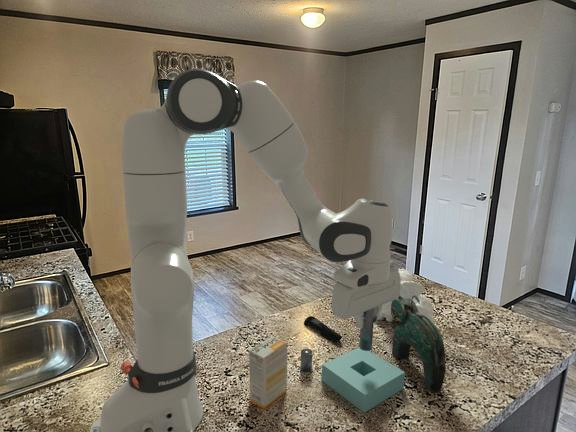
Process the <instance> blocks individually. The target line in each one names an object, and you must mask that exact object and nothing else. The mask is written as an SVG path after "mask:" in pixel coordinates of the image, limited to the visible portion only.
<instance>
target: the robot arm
mask: <svg viewBox="0 0 576 432" xmlns="http://www.w3.org/2000/svg"><path fill="white" fill-rule="evenodd" d="M224 129H227V130H229V131H231V132H232V133H233V134H234V135H235V136H236V137H237V139H238V140H239V141H240V143H241V144H242V146H243V147H244V148H245V150H246V152H247V153H248V155H249V156H250V158H251V159H252V161H253V162H254V163H255V164H256V166H257V167H258V168H259V169H260V170H261V171H262V173H263V174H265V175H266V177H268V178H269V179H270V180H271V182H273V183H275V185H277V186H278V188H279V189H280V191H281V192H282V193H283V195H284V197H285V198H286V200H287V201H288V203H289V205H290V207H291V208H292V209H293V211H294V213H295V214H296V217H297V221H298V229H299V233H300V236H301V238H302V240H303V241H304V242H305V244H307V245H309V246H310V247H312V248H313V249H314V250H315V251H316V252H317V253H319V254H320V256H322V257H324V259H327V260H328V261H330V262H332V263H333V262H334V263H343V262H346V263H345V264H343V265H342V266H341V267H339V268H338V269H336V270H335V271H334V272H333V280H334V281H335V283H334V285H333V288H332V294H331V311H332V313H333V314H334V316H336V317H338V318H339V319H341V320H344V321H345V320H347V319H350V318H352V317H354V319H355V326H356V328H358V329H359V330H360V329H361V328H364V327H365V326H366V325H365V324H366V320H363V319H362V316H363V312H365V311H368V310H370V309H372V308H374V323H377V322H379V320H378V315H379V313H380V311H381V309H382V304H385V303H387V302H390V301H392V300H395V299H397V298H398V297H399V295H400V293H401V279H400V273H399V268H400V267H399V265H398V263H396V262H395V261H391V252H390V246H391V243H392V240H393V213H392V209H391V207H390V206H389V205H388V204H387V203H385V202H383V201H380V200H376V199H371V198H359V199H356V200H355V202H354V203H353V204H352V205H351V206H349V207H347V208H346V209H345V210H343V211H340V212H337V213H336V212H335V211H334V210H333V209H331V208H329V207H328V206H326V205H324V203H322V202H321V201H320V200H319V198H318V196H317V194H316V193H315V191H314V189H313V187H312V185H311V184H310V182H309V180H308V179H307V177H306V173H305V170H304V168H305V165H306V162H307V161H308V156H309V148H308V147H307V144H306V141H305V139H304V136H303V133H302V132H301V130H300V128H299V126H298V124H297V122H295V119H294V118H293V116H292V115H291V114H290V112H289V109H287V108H286V106H285V105H284V104H283V102H282V101H281V99H280V98H279V97H278V96H277V94H276V93H274V91H273V90H272V89H271V88H270V87H269V86H268V85H267V84H266V83H264V81H261V80H250V81H249V80H248V81H245V82H243V83H241V84H239V85H238V86H237V85H236V84H234V83H232V82H230V81H228V80H226V79H225V78H223V77H221V76H220V75H218V74H217V73H214V72H212V71H210V70H207V69H203V68H191V69H187V70H186V69H185V70H183V71H182V72H180V73H178V74H177V75H176V76H175V77H174V78H173V80H172V81H171V82H170V84H169V85H168V89H167V92H166V97H165V100H164V102H163V105H162V106H160V107H158V108H146V109H145V108H144V109H140V110H137V111H135V112H133V113H131V114H130V115H129V116H128V117H127V118H126V119H125V122H124V128H123V136H122V149H121V166H122V167H121V168H122V177H123V178H122V179H123V192H124V202H125V203H124V204H125V214H126V215H125V216H126V224H127V233H128V235H127V236H128V243H129V244H128V245H129V253H130V289H131V290H130V291H131V302H132V311H133V320H134V322H133V323H134V332H135V344H136V361H135V363H134V364H133V365H132V363H131V361H129V360H126V361H123V362H122V363H121V365H120V369H121V371H122V373H123V374H124V375H127V380H126V382H124V383H123V384H122V385H121V386H120V387H119V388H118V389H117V390H116V391H115V392H114V393H113V394H111V395H110V397H108V398H107V399H106V400H105V402H104V403H103V407H102V409H101V413H100V417H99V418H98V419H96V420H94V421H93V423H92V424H91V426H90V428H89V432H194V431H195V430H196V428H197V427H198V425H200V423H201V421H202V419H203V417H204V406H203V404H202V401H201V399H200V397H199V393H198V387H197V382H196V376H197V359H196V352H195V351H194V342H193V341H194V338H193V337H194V336H193V314H194V313H193V310H194V296H195V293H194V291H195V274H194V271H193V267H192V265H191V263H190V261H189V258H188V253H187V240H186V238H187V237H186V236H187V218H188V217H187V215H188V203H187V202H188V199H187V197H188V195H187V180H186V179H187V177H186V176H187V175H186V173H187V172H186V161H185V160H186V159H185V156H186V155H185V154H186V145H187V143H188V140H189V139H190V137H192V136H194V135H207V134H211V133H215V132H219V131H221V130H224ZM374 323H373V324H374Z"/></svg>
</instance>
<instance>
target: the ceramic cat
mask: <svg viewBox="0 0 576 432" xmlns="http://www.w3.org/2000/svg"><path fill="white" fill-rule="evenodd" d="M413 297H415V298H416V300H417V301H418V303H419V304H420V302H419V299H418V297H417V296H415V295H414V296H412V299H410V298H402V297H401V296H400V295H399V297H398V298H397V299H395V300H393V301H392V304H391V316H392V318H393V319H394V320H393V321H394V322H395V324H394V331H393V336H392V348H391V354H392V355H393V356H394V357H395V359H398V360H405V359H409V358H410V350H411V348H413V349H415V351H416V352H417V353H418V355H419V357H420V358H421V363H422V368H423V376H424V377H423V379H424V387H425V389H426V390H427V391H428V392H429V393H436V392H441V391H442V388H443V385H444V380H445V375H446V371H447V366H446V350H445V345H444V341H443V337H442V336H441V333H440V331H439V328H437V326H436V325H435V324H434V323H433V322H432V321H431V320H430V319H429V318H428V317H426V316H424V315H422V314H420V313H419V312H418V309H417V306H416V304H415V302H414V301H413Z"/></svg>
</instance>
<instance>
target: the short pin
mask: <svg viewBox="0 0 576 432" xmlns="http://www.w3.org/2000/svg"><path fill="white" fill-rule="evenodd" d="M300 371H301V372H303V373H311V372H312V371H313V350H312V349H310V348H307V347H306V348H302V349H301V350H300Z"/></svg>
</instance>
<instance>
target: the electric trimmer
mask: <svg viewBox="0 0 576 432" xmlns="http://www.w3.org/2000/svg"><path fill="white" fill-rule="evenodd" d="M303 324H304V325H305V326H306V325H307V326H310V327H311V328H313V329H314V330H316V331H317V332H319V334H320V335H321V336H322V337H325V338H326V339H329V340H331V341H332V342H339V341H341V340H342V339H343V338H342V337H343V336H342V335H341V334H340V333H338V332H337V331H335V330H333V329H332V328H330V327H328V325H326V324H325V323H324V322H322V321H320V320H319V319H318V318H316V317H315V316H312V315H310V316H307V317H306V318H305V320H304V321H303Z"/></svg>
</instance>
